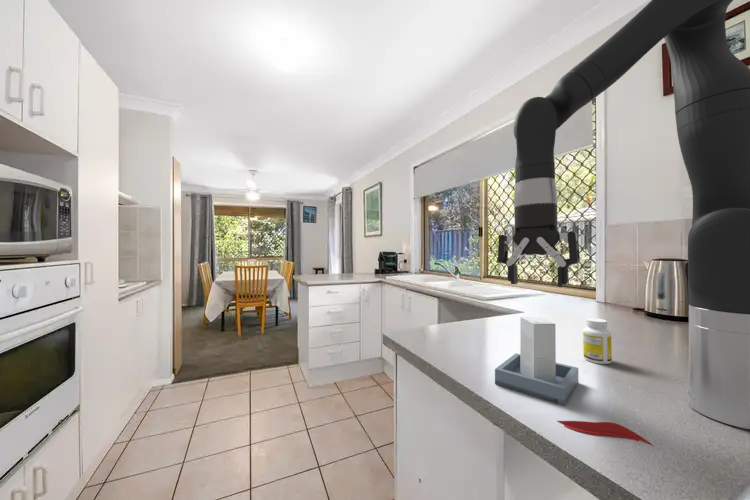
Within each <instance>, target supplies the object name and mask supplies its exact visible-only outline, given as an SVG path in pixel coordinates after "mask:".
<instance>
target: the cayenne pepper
mask: <svg viewBox="0 0 750 500" xmlns="http://www.w3.org/2000/svg"><path fill="white" fill-rule="evenodd" d="M556 422H557V423H559V424H561V425H563V428H567V429H568V430H569V429H570V430H571V431H574V432H577V433H581V434H582V433H583V434H585V435H593V436H601V437H602V436H603V437H604V436H605V437H615V438H618V437H619V438H624V439H628V440H633V441H636V442H639V441H640V442H643V443H646V444H648V445H650V446H652V447H654V445H653V444H652V443H651V442H650V441H649V440H647V439H645V438H644V437H642V436H641V435H639V434H637V433H636V432H634V431H632V430H631V429H629V428H627V427H625V426H623V425H622V424H619V423H616V422H612V421H611V422H610V421H609V422H608V421H596V422H595V421H583V420H556Z"/></svg>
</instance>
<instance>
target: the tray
mask: <svg viewBox="0 0 750 500" xmlns="http://www.w3.org/2000/svg"><path fill="white" fill-rule="evenodd" d="M494 384H495V385H496V386H500V387H503V388H507V389H510V390H513V391H515V392H519V393H522V394H525V395H529V396H533V397H535V398H539V399H542V400H545V401H549V402H551V403H555V404H558V405H560V406H564V407H566V405H567V403H568V401H569V400H570V398H571V397H572V395H573V393H574V391H575V390H576V387H577V386H578V384H579V367H576V366H572V365H568V364H564V363H559V362H556V384H555V383H551V382H548V381H544V380H540V379H537V378H533V377H530V376H526V375H522V374H521V373H520V353H514V354H513V355H511V356H510V357H509V358H508V359H506V360H505V361H503V362H502V363H501V364H499V365H498V366H497V367H495V368H494Z"/></svg>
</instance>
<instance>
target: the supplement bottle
mask: <svg viewBox="0 0 750 500" xmlns="http://www.w3.org/2000/svg"><path fill="white" fill-rule="evenodd" d="M586 325H587V326H586V327H584V328H583V329H582V330H583V331H582V333H583V334H582V336H583V337H582V338H583V340H582V341H583V346H582V347H583V348H582V349H583V358H584V359H585V361H588V362H590V363H594V364H599V365H609V364H611V363H612V360H613V359H612V354H613V353H612V332H611V330H609V329H607V327H608V320H605V319H602V318H598V317H597V318H595V317H594V318H593V317H589V318H588V317H587V318H586Z"/></svg>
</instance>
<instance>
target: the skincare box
mask: <svg viewBox="0 0 750 500" xmlns="http://www.w3.org/2000/svg"><path fill="white" fill-rule="evenodd" d="M519 324H520V327H519V329H520V332H519V335H520V340H519V343H520V346H519V349H520V351H519V352H520V353H519V354H520V373H521V374H522V375H526V376H530V377H533V378H537V379H540V380H544V381H548V382H551V383H555V384H556V363H557V361H556V356H557V355H556V350H557V349H556V347H557V346H556V343H557V342H556V341H557V340H556V337H557V336H556V323H554V322H552V321H549V320H547V319H546V318H542V317H540V316H520V323H519Z"/></svg>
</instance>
